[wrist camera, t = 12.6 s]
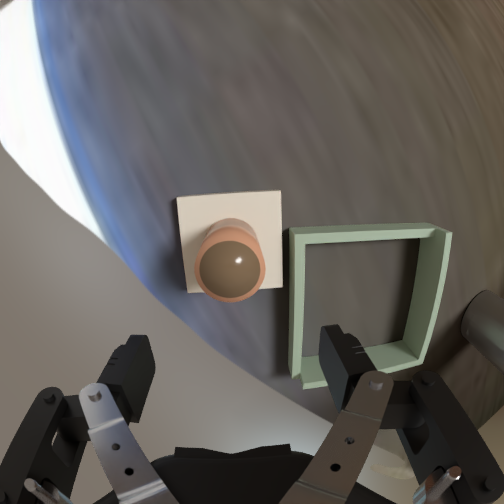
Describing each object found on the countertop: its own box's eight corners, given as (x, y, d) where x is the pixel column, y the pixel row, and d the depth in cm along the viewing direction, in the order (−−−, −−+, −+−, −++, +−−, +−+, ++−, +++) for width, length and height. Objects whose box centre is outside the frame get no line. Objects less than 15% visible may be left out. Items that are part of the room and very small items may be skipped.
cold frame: (427, 222, 30) (452, 232, 25) (406, 344, 36) (422, 363, 31) (288, 227, 30) (299, 239, 25) (288, 364, 35) (294, 390, 30)
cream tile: (278, 189, 28) (280, 190, 27) (280, 281, 31) (282, 287, 30) (179, 195, 28) (176, 197, 26) (189, 287, 31) (187, 292, 29)
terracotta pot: (257, 216, 27) (265, 234, 21) (258, 269, 29) (265, 300, 22) (201, 219, 27) (191, 237, 20) (205, 271, 29) (197, 303, 22)
